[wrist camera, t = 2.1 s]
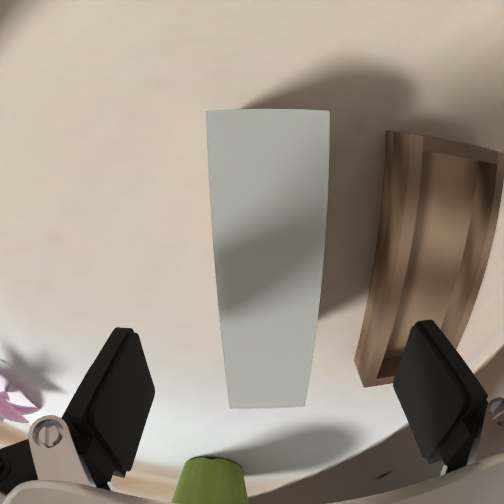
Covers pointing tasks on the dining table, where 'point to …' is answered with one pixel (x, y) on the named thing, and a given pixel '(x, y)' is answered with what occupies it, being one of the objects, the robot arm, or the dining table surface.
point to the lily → (13, 410)
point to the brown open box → (428, 245)
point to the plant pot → (211, 483)
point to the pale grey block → (268, 247)
